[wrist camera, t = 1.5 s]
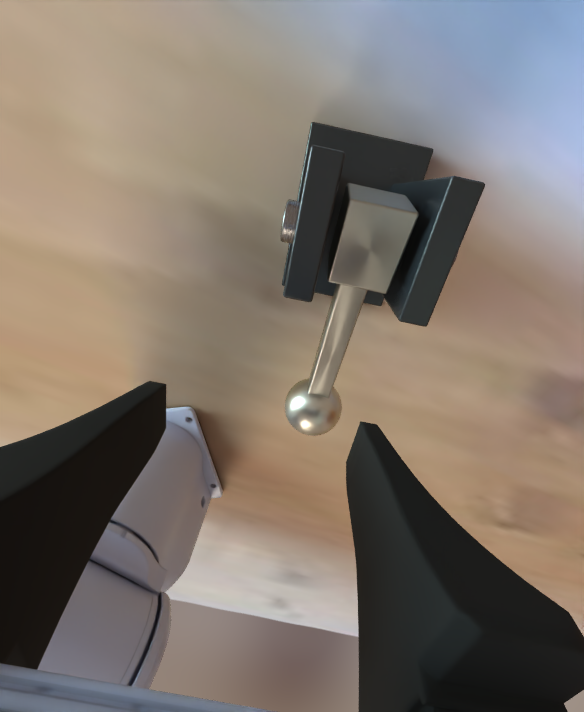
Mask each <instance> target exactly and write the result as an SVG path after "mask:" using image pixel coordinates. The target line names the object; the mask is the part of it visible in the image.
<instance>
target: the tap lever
mask: <svg viewBox="0 0 584 712" xmlns="http://www.w3.org/2000/svg"><path fill="white" fill-rule="evenodd" d="M418 216H419V213H418V212H417V210H416V209H415V208H414V206H413V205H412V204H411V202H410V201H409V200H408V198H407V197H406V196H405V195H402V194H397V193H392V192H388V191H383V190H379V189H374V188H370V187H365V186H361V185H356V184H352V183H348V184H347V185H346V188H345V192H344V196H343V200H342V204H341V208H340V212H339V216H338V220H337V224H336V228H335V232H334V236H333V240H332V243H331V247H330V251H329V255H328V276H327V280H328V282H332V283H336V287H335V291H334V294H333V298H332V301H331V305H330V308H329V312H328V315H327V319H326V322H325V326H324V329H323V333H322V336H321V340H320V343H319V347H318V350H317V354H316V357H315V361H314V364H313V368H312V371H311V375H310V378H309V379H304V380H302V381H300V382H298V383H297V384H295V385H294V386H293V387H292V388H291V390H290V391H289V393H288V395H287V397H286V400H285V413H286V417H287V419H288V421H289V423H290V424H291V425H292V426H293V427H294V428H295V429H296V430H297V431H299V432H300V433H303V434H305V435H310V436H317V435H322V434H325V433H327V432H328V431H330V430H331V429H332V428H333V427H334V426H335V425H336V424H337V422H338V420H339V418H340V415H341V410H342V404H341V399H340V396H339V394H338V392H337V391H336V389H335V388H334V387H333V385H334V382H335V380H336V377H337V374H338V371H339V368H340V366H341V363H342V360H343V357H344V354H345V352H346V349H347V346H348V343H349V341H350V338H351V335H352V332H353V329H354V327H355V324H356V321H357V318H358V315H359V313H360V310H361V307H362V304H363V301H364V299H365V296H366V293H367V290H369V291H374V292H379V293H384V294H387V292H388V290H389V288H390V285H391V283H392V280H393V278H394V275H395V273H396V271H397V268H398V266H399V263H400V261H401V258H402V256H403V253H404V251H405V248H406V246H407V243H408V241H409V238H410V236H411V233H412V231H413V228H414V226H415V224H416V221H417V219H418Z"/></svg>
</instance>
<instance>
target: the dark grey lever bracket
mask: <svg viewBox="0 0 584 712" xmlns="http://www.w3.org/2000/svg"><path fill="white" fill-rule="evenodd" d="M432 153H433V149H432V148H427V147H423V146H418V145H414V144H409V143H405V142H400V141H396V140H391V139H387V138H382V137H378V136H374V135H369V134H365V133H360V132H356V131H351V130H347V129H342V128H338V127H333V126H329V125H324V124H320V123H316V122H312V123H311V126H310V132H309V138H308V143H307V149H306V154H305V160H304V165H303V171H302V176H301V182H300V187H299V193H298V198H297V201H295V200H290V199H289V200H288V201H287V204H286V207H285V212H284V217H283V223H282V229H281V241H282V242H286V243H289V248H288V253H287V259H286V264H285V270H284V275H283V281H282V285H283V286H285V287H284V292H283V295H284V297H286V298H291V299H296V300H301V301H306V302H311V301H312V299H313V295H314V292H315V293H320V294H325V295H329V296H333V294H334V291H335V287H336V283H332V282H328V280H327V276H328V255H329V251H330V247H331V243H332V240H333V236H334V232H335V228H336V224H337V220H338V216H339V212H340V208H341V204H342V200H343V196H344V192H345V188H346V185H347V184H348V183H352V184H356V185H361V186H365V187H370V188H374V189H379V190H383V191H388V192H392V193H397V194H402V195H405V196H406V197H407V198H408V200H409V201H410V202H411V204H412V205H413V206H414V208H415V209H416V210H417V212H418V213H419V216H418V219H417V221H416V224H415V226H414V228H413V231H412V233H411V236H410V238H409V241H408V243H407V246H406V248H405V251H404V253H403V256H402V258H401V261H400V263H399V266H398V268H397V271H396V273H395V275H394V278H393V280H392V283H391V285H390V288H389V290H388V292H387V294H384V293H379V292H374V291H369V290H367V293H366V296H365V299H364V301H363V303H368V304H372V305H377V306H381V305H382V303H383V300H384V298H385V300H386V302H387V303H388V305H389V306H390V308H391V309H392V311H393V312H394V314H395V315H396V317H397V318H398V320H399V321H401V322H405V323H410V324H415V325H420V326H427V325H428V322H429V320H430V318H431V315H432V313H433V310H434V308H435V305H436V303H437V301H438V298H439V296H440V293H441V291H442V288H443V286H444V284H445V281H446V279H447V276H448V274H449V272H450V269H451V267H452V265H453V264H454V262H455V259H456V257H457V254H458V250H459V247H460V245H461V242H462V240H463V238H464V235H465V233H466V230H467V228H468V226H469V223H470V221H471V218H472V216H473V213H474V211H475V209H476V206H477V204H478V201H479V199H480V197H481V194H482V192H483V189H484V187H485V184H484V183H483V182H479V181H475V180H470V179H466V178H461V177H457V176H451V177H443V178H436V179H429V180H424V177H425V174H426V171H427V168H428V165H429V162H430V159H431V156H432Z"/></svg>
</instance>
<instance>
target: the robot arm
mask: <svg viewBox="0 0 584 712" xmlns="http://www.w3.org/2000/svg"><path fill="white" fill-rule="evenodd" d="M188 417H190V418H192V420H191V419H189V418H188ZM346 484H347V496H348V503H349V511H350V518H351V525H352V532H353V539H354V546H355V555H356V567H357V590H358V624H359V712H567V709H566V708H565V705H564V703H565V702H566V701H568V700H569V699H571V698H572V697H574V696H575V695H576V694H578V693H579V692H581V691H582V690H584V637H583V635H582V633H581V632H580V630H579V628H578V627H577V625H576V623H575V621H574V620H573V618H572V617H571V615H570V614H569V612H568V611H566V610H565V609H563V608H562V607H561V606H559V605H558V604H557V603H555V602H554V601H552V600H551V599H550V598H548V597H547V596H545V595H544V594H543V593H541V592H540V591H539V590H537V589H536V588H534V587H533V586H532V585H530V584H529V583H528V582H526V581H525V580H524V579H522V578H521V577H520V576H518V575H517V574H516V573H515V572H513V571H512V570H511V569H510V568H508V567H507V566H506V565H505V564H503V563H502V562H501V561H500V560H498V559H497V558H496V557H495V556H494V555H493V554H491V553H490V552H489V551H488V550H487V549H485V548H484V547H483V546H482V545H481V544H480V543H479V542H478V541H477V540H475V539H474V538H473V537H472V536H471V535H470V534H469V533H468V532H467V531H466V530H464V529H463V528H462V527H461V526H460V525H459V524H458V523H457V522H456V521H455V520H454V519H453V518H452V517H451V516H450V515H449V514H448V513H447V512H446V511H445V510H444V509H443V508H442V507H441V506H440V505H439V503H438V502H437V501H436V500H435V499H434V498H433V497H432V496H431V495H430V494H429V492H428V491H427V490H426V489H425V488H424V487H423V485H422V484H421V483H420V482H419V481H418V479H417V478H416V477H415V476H414V474H413V473H412V472H411V471H410V469H409V468H408V467H407V465H406V464H405V463H404V461H403V460H402V459H401V457H400V456H399V455H398V453H397V452H396V451H395V449H394V448H393V446H392V445H391V444H390V442H389V441H388V439H387V438H386V436H385V435H384V434H383V432H382V431H381V429H380V428H379V427H378V425H377V424H371V423H366V422H360V425H359V427H358V430H357V433H356V436H355V439H354V442H353V444H352V447H351V450H350V453H349V456H348V459H347V462H346ZM222 494H223V490H222V487H221V484H220V481H219V479H218V476H217V473H216V470H215V467H214V464H213V461H212V459H211V456H210V453H209V450H208V447H207V444H206V441H205V439H204V436H203V433H202V430H201V427H200V424H199V421H198V419H197V416H196V413H195V411H194V409H193V408H191V407H177V408H166V384H162V383H157V382H152V381H149V382H147V383H145V384H143V385H141V386H139V387H137V388H135V389H133V390H131V391H129V392H127V393H126V394H124V395H122V396H120V397H118V398H116V399H114V400H112V401H110V402H109V403H107V404H105V405H103V406H101V407H99V408H97V409H95V410H93V411H90V412H88V413H86V414H84V415H82V416H80V417H78V418H76V419H73V420H71V421H69V422H67V423H65V424H62V425H60V426H58V427H55V428H53V429H50V430H48V431H45V432H43V433H40V434H37V435H35V436H32V437H29V438H27V439H24V440H21V441H18V442H15V443H12V444H9V445H5V446H2V447H0V712H276V711H270V710H264V709H259V708H253V707H248V706H242V705H236V704H230V703H224V702H218V701H213V700H207V699H201V698H196V697H190V696H185V695H179V694H173V693H167V692H162V691H155V690H150V689H149V688H150V686H151V684H152V682H153V679H154V677H155V675H156V672H157V670H158V668H159V665H160V662H161V660H162V657H163V654H164V651H165V648H166V645H167V641H168V637H169V632H170V626H171V613H170V612H171V607H170V606H171V604H170V598H169V596H168V595H167V594H166V593H164V592H166V591H167V590H168V589H169V588H170V587H171V586H172V585H173V584H174V583H175V582H176V581H177V580H178V579H179V577H180V576H181V575H182V573H183V572H184V570H185V569H186V567H187V565H188V563H189V561H190V558H191V555H192V552H193V549H194V546H195V543H196V541H197V538H198V535H199V532H200V529H201V526H202V523H203V520H204V518H205V515H206V512H207V509H208V506H209V503H210V500H211V498H220V497H221V496H222Z"/></svg>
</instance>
